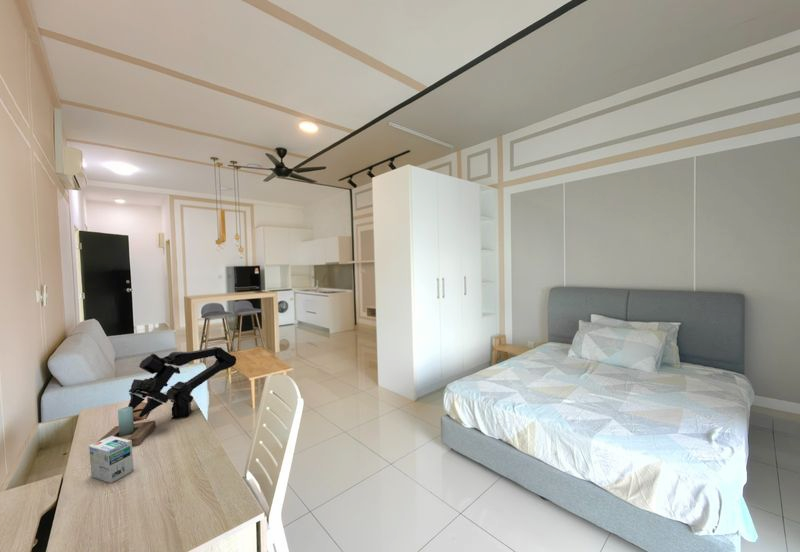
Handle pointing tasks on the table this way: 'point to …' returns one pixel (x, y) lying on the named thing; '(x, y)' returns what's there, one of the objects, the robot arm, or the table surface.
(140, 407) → the sunglasses case
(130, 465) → the light bulb box
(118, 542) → the table surface
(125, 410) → the stool leg
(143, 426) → the brown flat square frame
